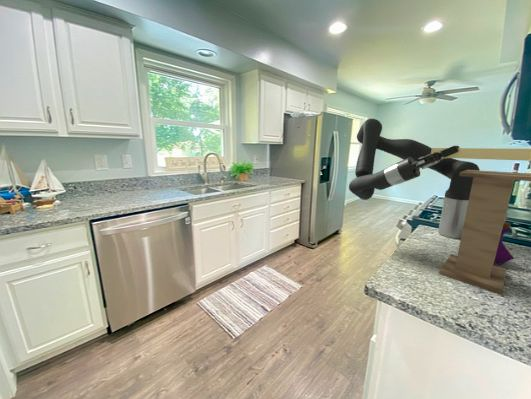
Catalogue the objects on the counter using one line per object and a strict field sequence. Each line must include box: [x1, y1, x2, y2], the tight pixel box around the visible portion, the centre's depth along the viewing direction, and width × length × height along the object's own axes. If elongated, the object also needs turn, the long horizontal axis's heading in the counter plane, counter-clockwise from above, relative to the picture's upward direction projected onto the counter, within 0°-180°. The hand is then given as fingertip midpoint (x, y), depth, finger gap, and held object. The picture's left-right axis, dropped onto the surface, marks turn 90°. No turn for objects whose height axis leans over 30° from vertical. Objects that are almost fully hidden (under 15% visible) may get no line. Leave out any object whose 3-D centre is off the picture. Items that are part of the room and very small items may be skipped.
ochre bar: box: [431, 147, 531, 162], centre depth 67 cm, size 3×22×3 cm, turn 42°
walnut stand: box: [438, 170, 531, 295], centre depth 69 cm, size 16×14×32 cm
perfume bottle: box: [494, 211, 515, 265], centre depth 79 cm, size 8×8×18 cm
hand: (458, 148), depth 70 cm, fingers closed on ochre bar, 3 cm apart
